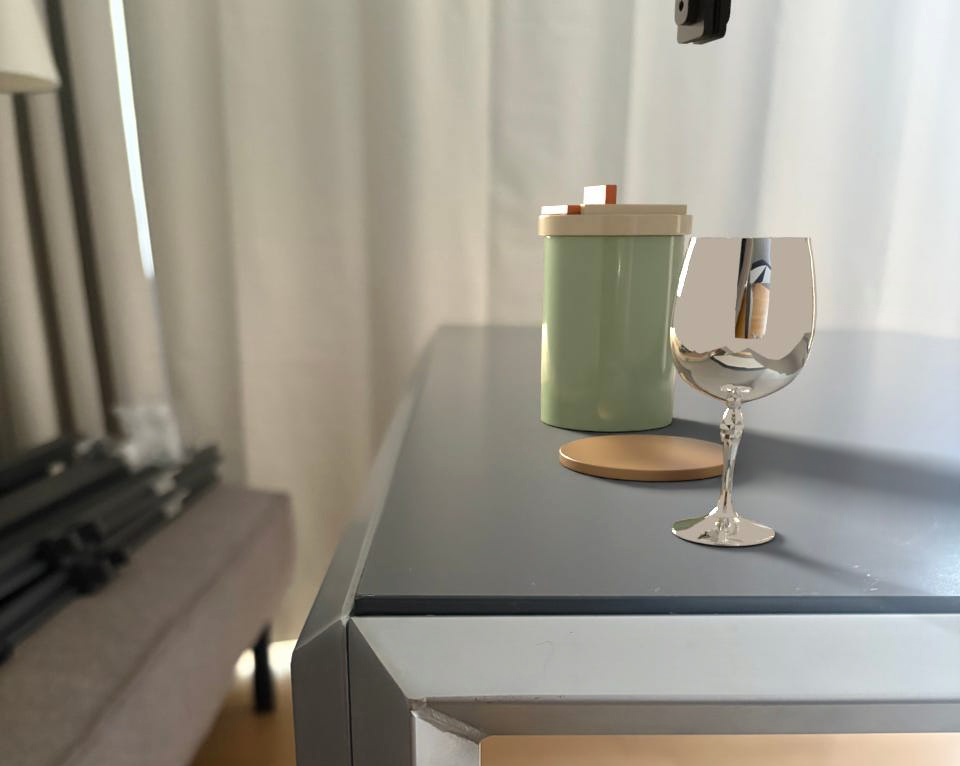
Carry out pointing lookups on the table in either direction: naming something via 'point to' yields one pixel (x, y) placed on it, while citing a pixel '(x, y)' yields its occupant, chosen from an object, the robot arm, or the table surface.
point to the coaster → (644, 457)
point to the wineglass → (740, 346)
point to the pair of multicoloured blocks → (585, 200)
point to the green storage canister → (610, 315)
